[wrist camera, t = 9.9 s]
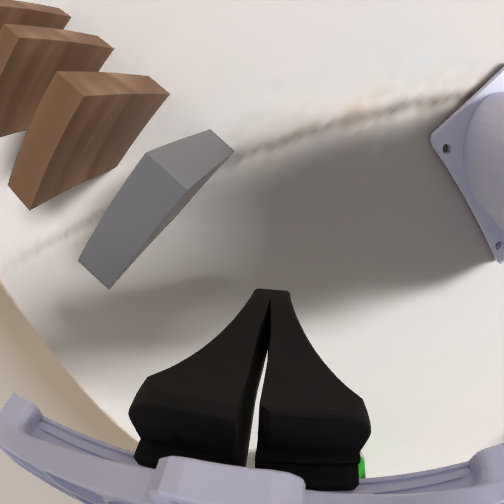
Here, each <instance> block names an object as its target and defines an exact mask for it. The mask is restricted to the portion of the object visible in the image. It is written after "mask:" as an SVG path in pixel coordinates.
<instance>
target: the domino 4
mask: <svg viewBox="0 0 504 504" xmlns="http://www.w3.org/2000/svg"><path fill="white" fill-rule="evenodd" d="M233 152H234V150H233V149H232V148H231V147H229V146H228V145H227V144H226V143H225V142H224V141H223V140H222V139H221V138H219V137H218V136H217V135H216V134H215V133H214V132H213V131H212V130H207V131H204V132H201V133H198V134H195V135H192V136H189V137H187V138H184V139H181V140H178V141H175V142H173V143H170V144H167V145H164V146H162V147H159V148H156V149H154V150H151V151H149V152H146V153H145V155H144V156H143V157H142V159H141V160H140V162H139V163H138V164H137V166H136V167H135V169H134V170H133V171H132V173H131V174H130V176H129V177H128V179H127V180H126V182H125V183H124V185H123V186H122V188H121V189H120V191H119V192H118V194H117V195H116V197H115V198H114V200H113V201H112V203H111V205H110V206H109V208H108V209H107V211H106V213H105V214H104V216H103V217H102V219H101V221H100V222H99V224H98V226H97V227H96V229H95V231H94V232H93V234H92V236H91V238H90V239H89V241H88V243H87V245H86V246H85V248H84V250H83V252H82V254H81V255H80V257H79V259H78V261H79V262H80V263H81V264H82V265H83V266H84V267H85V268H86V269H87V270H88V271H89V272H90V273H91V274H92V275H94V276H95V277H96V278H97V279H98V280H99V281H100V282H101V283H102V284H103V285H105V286H106V287H107V288H108V289H110V288H111V287H112V286H113V285H114V283H115V282H116V281H117V280H118V279H119V278H120V277H121V275H122V274H123V273H124V272H125V271H126V270H127V269H128V268H129V266H130V265H131V264H132V263H133V262H134V261H135V260H136V259H137V257H138V256H139V255H140V254H141V253H142V252H143V251H144V250H145V249H146V248H147V247H148V245H149V244H150V243H151V242H152V241H153V240H154V239H155V238H156V237H157V236H158V235H159V234H160V233H161V232H162V231H163V229H164V228H165V227H166V226H167V225H168V224H169V223H170V222H171V221H172V220H173V219H174V218H175V217H176V216H177V214H178V213H179V212H180V211H181V210H182V209H183V207H184V206H185V205H186V204H187V203H188V202H189V201H190V199H191V198H192V197H193V196H194V195H195V194H196V193H197V191H198V190H199V189H200V188H201V187H202V186H203V185H204V184H205V182H206V181H207V180H208V179H209V178H210V177H211V176H212V175H213V174H214V173H215V171H216V170H217V169H218V168H219V167H220V166H221V165H222V164H223V163H224V162H225V161H226V160H227V159H228V157H229V156H230V155H231V154H232V153H233Z"/></svg>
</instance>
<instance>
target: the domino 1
mask: <svg viewBox="0 0 504 504" xmlns="http://www.w3.org/2000/svg"><path fill="white" fill-rule="evenodd" d="M70 18H71V17H70V16H69V15H68V14H66V13H65V12H63V11H62V10H60V9H59V8H55V7H50V6H45V5H40V4H34V3H28V2H22V1H14V0H0V30H1V28H2V26H3V24H16V25H28V26H38V27H46V28H54V29H61V30H63V29H64V27H65V26H66V24H67V23H68V21H69V20H70Z"/></svg>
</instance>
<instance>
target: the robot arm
mask: <svg viewBox="0 0 504 504" xmlns="http://www.w3.org/2000/svg"><path fill="white" fill-rule="evenodd" d="M430 142H431V145H432V147H433V148H434V149H435V151H436V152H437V154H438V155H439V157H440V158H441V160H442V161H443V163H444V164H445V166H446V168H447V169H448V171H449V172H450V174H451V176H452V177H453V179H454V180H455V182H456V184H457V185H458V187H459V189H460V190H461V192H462V194H463V196H464V197H465V199H466V201H467V203H468V205H469V206H470V208H471V210H472V212H473V214H474V216H475V218H476V220H477V222H478V223H479V225H480V227H481V229H482V231H483V234H484V236H485V238H486V240H487V242H488V244H489V246H490V248H491V251H492V253H493V255H494V257H495V259H496V261H497V262H498V263H503V262H504V66H503V67H502V68H501V69H500V70H499V71H498V72H497V73H496V74H495V75H494V76H493V77H492V78H491V79H490V80H489V81H488V82H487V83H486V84H485V85H484V86H482V87H481V88H480V89H479V90H478V91H477V92H476V93H475V94H474V95H473V96H472V97H471V98H470V99H469V100H468V101H467V102H465V103H464V104H463V105H462V106H461V107H460V108H459V109H458V110H457V111H456V112H455V113H454V114H453V115H451V116H450V117H449V118H448V119H447V120H446V121H445V122H444V123H443V124H442V125H441V126H439V127H438V128H437V129H436V130H435V131H434V132H433V133H432V135H431V138H430ZM445 144H447V146H448V150H447V152H445V153H444V152H443V146H444V145H445ZM497 242H498V245H497V246H496V243H497ZM267 350H268V361H267V367H266V373H265V378H264V384H263V389H262V394H261V399H260V406H259V426H258V442H257V449H256V456H255V468H249V467H246V462H247V455H248V448H249V441H250V434H251V427H252V421H253V414H254V407H255V400H256V395H257V390H258V387H259V383H260V379H261V375H262V371H263V367H264V362H265V358H266V354H267ZM128 414H129V417H130V420H131V422H132V424H133V425H134V427H135V429H136V431H137V433H138V434H139V436H140V438H141V439H140V442H139V444H138V447H137V449H136V451H135V452H133V451H130V450H126V449H123V448H120V447H117V446H114V445H112V444H109V443H105V442H103V441H100V440H98V439H95V438H92V437H90V436H88V435H85V434H83V433H80V432H78V431H75V430H73V429H71V428H68V427H66V426H64V425H62V424H59V423H57V422H55V421H53V420H51V419H49V418H47V417H45V416H43V415H42V413H41V411H40V410H39V409H38V407H37V406H36V405H34V404H33V403H32V402H31V401H29V400H27V399H25V398H23V397H21V396H19V395H18V394H16V393H13V394H12V396H11V397H10V399H9V400H8V402H7V403H6V404H5V406H4V407H3V409H2V410H1V412H0V449H2V450H3V451H4V452H5V453H6V454H7V455H8V456H9V457H10V458H11V459H12V460H14V461H15V462H16V463H17V464H18V465H20V466H21V467H23V468H24V469H26V470H27V471H29V472H30V473H32V474H33V475H35V476H37V477H38V478H40V479H41V480H43V481H45V482H46V483H48V484H50V485H51V486H53V487H55V488H56V489H58V490H60V491H62V492H63V493H65V494H67V495H69V496H71V497H72V498H74V499H76V500H78V501H80V502H82V503H84V504H504V443H502V444H499V445H495V446H492V447H489V448H486V449H483V450H481V451H479V452H477V453H476V454H475V455H474V456H473V457H472V458H471V459H470V460H469V461H467V462H463V463H459V464H455V465H451V466H447V467H442V468H437V469H432V470H427V471H421V472H415V473H409V474H402V475H395V476H386V477H376V478H364V479H359V468H358V464H359V463H360V461H361V456H360V451H361V449H362V448H363V446H364V445H365V443H366V442H367V440H368V438H369V436H370V434H371V425H370V420H369V416H368V413H367V409H366V407H365V404H364V401H363V399H362V398H361V397H359V396H358V395H357V394H355V393H354V392H353V391H352V390H350V389H349V388H348V387H347V386H346V385H344V384H343V383H342V382H341V381H340V380H339V379H338V378H337V377H336V376H335V374H334V373H333V372H332V371H331V370H330V369H329V368H328V367H327V365H326V364H325V363H324V362H323V361H322V359H321V358H320V357H319V355H318V354H317V353H316V351H315V350H314V348H313V347H312V345H311V343H310V342H309V340H308V338H307V337H306V335H305V333H304V331H303V329H302V327H301V325H300V323H299V321H298V318H297V316H296V314H295V311H294V308H293V305H292V302H291V298H290V293H289V292H288V291H283V290H269V289H256V290H255V291H254V293H253V294H252V296H251V298H250V299H249V301H248V302H247V303H246V305H245V306H244V307H243V309H242V310H241V311H240V312H239V314H238V315H237V316H236V317H235V318H234V320H233V321H232V322H231V323H230V324H229V325H228V326H227V327H226V328H225V329H224V330H223V331H222V332H221V333H220V334H219V335H218V336H217V337H216V338H214V339H213V340H212V341H211V342H210V343H208V344H207V345H206V346H204V347H203V348H202V349H200V350H199V351H198V352H196V353H195V354H193V355H192V356H190V357H188V358H187V359H185V360H183V361H181V362H180V363H178V364H176V365H174V366H172V367H170V368H168V369H166V370H163V371H161V372H159V373H156V374H154V375H151V376H149V377H147V378H146V380H145V381H144V383H143V384H142V386H141V387H140V389H139V390H138V392H137V394H136V396H135V398H134V400H133V402H132V404H131V406H130V409H129V413H128Z"/></svg>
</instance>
